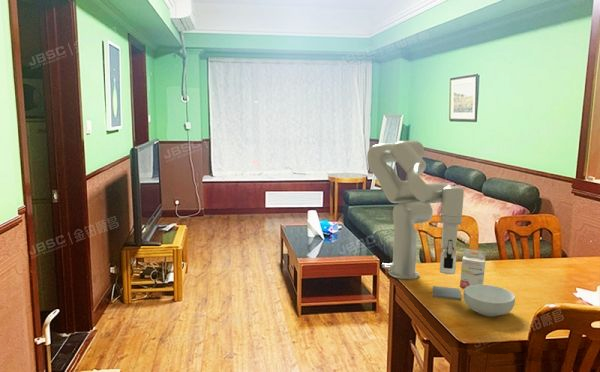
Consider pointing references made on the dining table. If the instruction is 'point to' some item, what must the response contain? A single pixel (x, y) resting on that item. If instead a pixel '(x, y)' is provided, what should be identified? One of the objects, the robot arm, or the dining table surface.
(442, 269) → the eye dropper bottle
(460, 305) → the dining table surface
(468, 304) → the cereal bowl
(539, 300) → the dining table surface
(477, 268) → the ink cartridge box
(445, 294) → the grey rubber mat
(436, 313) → the dining table surface
